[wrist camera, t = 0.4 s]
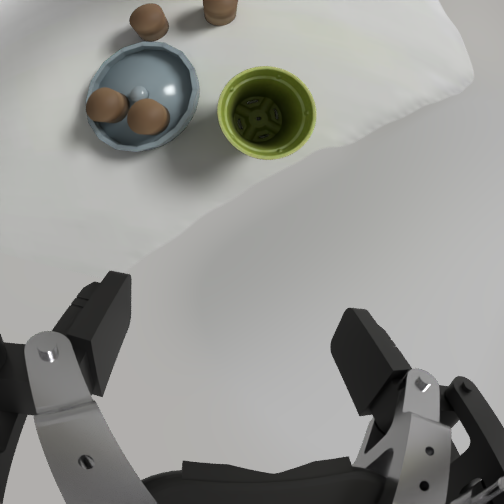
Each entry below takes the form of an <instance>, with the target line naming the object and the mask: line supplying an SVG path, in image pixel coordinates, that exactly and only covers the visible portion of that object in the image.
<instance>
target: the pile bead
mask: <svg viewBox="0 0 504 504" xmlns="http://www.w3.org/2000/svg"><path fill="white" fill-rule="evenodd" d="M237 2H238V0H203V6H204V14H205V19H206V20H207V21H208V22H209V23H210V24H213V25H217V26H222V25H226V24H229V23H230V22H232V21H233V20H234V18H235V16H236V10H237Z"/></svg>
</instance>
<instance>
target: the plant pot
mask: <svg viewBox="0 0 504 504" xmlns="http://www.w3.org/2000/svg"><path fill="white" fill-rule="evenodd" d="M252 100H258V102H254V103H250V104H247V102H249V101H252ZM274 109H275V110H276V111H277V113H278V119H276V116H275V112H274ZM217 116H218V121H219V125H220V127H221V130H222V132H223V134H224V135H225V137H226V138H227V140H228V141H229V142H230V143H231V144H232V145H233V146H234V147H235V148H236V149H238V150H239V151H241V152H242V153H244V154H246V155H248V156H251V157H254V158H257V159H263V160H273V159H279V158H283V157H286V156H289V155H291V154H293V153H295V152H296V151H297V150H299V149H300V148H301V147H302V146H303V145H304V144H305V143H306V142H307V141H308V139H309V138H310V136H311V134H312V132H313V130H314V127H315V123H316V106H315V102H314V99H313V97H312V95H311V93H310V91H309V89H308V88H307V87H306V85H305V84H304V83H303V82H302V81H301V80H300V79H299V78H298V77H296V76H295V75H293V74H292V73H290V72H288V71H286V70H283V69H280V68H276V67H270V66H260V67H254V68H250V69H247V70H245V71H243V72H241V73H239V74H237V75H236V76H234V77H233V78H232V79H231V80H230V81H229V82H228V83H227V84H226V86H225V87H224V89H223V90H222V92H221V94H220V97H219V100H218V106H217ZM257 117H260V118H261V119H260V120H257V119H256V118H257ZM238 119H240V122H241V125H242V127H243V129H240V128H239V125H238ZM266 134H269V136H268V137H265V138H259V136H263V135H266Z"/></svg>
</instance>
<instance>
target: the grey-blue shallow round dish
mask: <svg viewBox="0 0 504 504" xmlns="http://www.w3.org/2000/svg"><path fill="white" fill-rule="evenodd" d="M103 87H106V88H110V89H112V90H115V91H117V92H119V93H122V94H124V95H125V96H126V97H127V98H128V99H129V102H130V108H131V106H132V105H133V104H134V103H135V102H137V101H139V100H141V99H146V98H148V99H153V100H155V101H157V102H158V103H160V104H162V105H163V106H165V107H166V108H167V109H168V111H169V113H170V123H169V125H168V127H167V128H166V130H165V131H163V132H162V133H160V134H158V135H144V134H137V133H135V132H134V131H132V130H131V129H130V127H129V125H128V122H127V116H126V117H125V118H124V119H123V120H122V121H120V122H118V123H106V122H98V121H93V120H92V119H90V118H89V116H88V115H87V116H88V123H89V124H90V126H91V127H92V129H93V131H94V132H95V134H96V135H97V137H98V138H99V139H100V140H101V141H103V142H105V143H106V144H108V145H109V146H111V147H113V148H114V149H117V150H126V151H134V152H139V151H145V150H150V149H154V148H157V147H160V146H162V145H164V144H166V143H168V142H170V141H171V140H173V139H174V138H175V137H177V136H178V135H179V134H180V133H181V132H182V131H183V130H184V129H185V128H186V126H187V125H188V124H189V122H190V121H191V119H192V117H193V115H194V113H195V111H196V108H197V105H198V100H199V82H198V78H197V75H196V71H195V68H194V67H193V66H192V64H191V63H190V61H189V60H188V59H187V57H186V56H185V55H184V53H183V52H182V51H180V50H178V49H176V48H174V47H172V46H170V45H168V44H166V43H163V42H140V43H137V44H133V45H130V46H127V47H125V48H122V49H120V50H119V51H118V52H116V53H115V54H114V55H112V56H111V57H110V58H108V59H107V60H106V61H105V62H103V64H102V65H101V67H100V68H99V70H98V71H97V73H96V74H95V76H94V77H93V79H92V80H91V83H90V86H89V90H88V94H87V99H86V104H87V101H88V98H89V97H90V95H91V94H92V93H93V92H94V91H96V90H97V89H99V88H103ZM127 115H128V114H127Z"/></svg>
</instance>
